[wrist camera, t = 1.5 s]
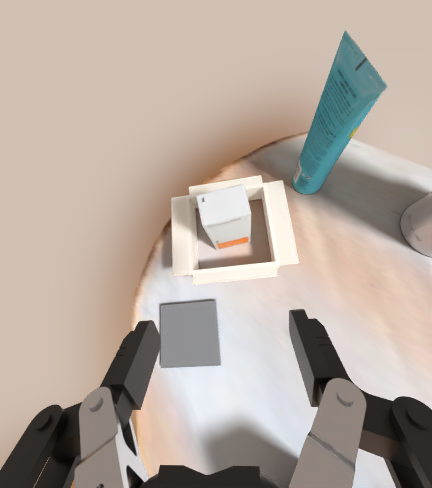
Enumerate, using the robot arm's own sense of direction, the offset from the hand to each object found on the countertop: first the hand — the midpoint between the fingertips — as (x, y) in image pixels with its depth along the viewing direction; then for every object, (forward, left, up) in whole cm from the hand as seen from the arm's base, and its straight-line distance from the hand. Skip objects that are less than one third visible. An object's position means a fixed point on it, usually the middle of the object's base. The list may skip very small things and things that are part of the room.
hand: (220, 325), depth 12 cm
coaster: (+8, +3, -21) cm, 22 cm away
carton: (0, -12, -21) cm, 24 cm away
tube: (-14, -20, -21) cm, 32 cm away
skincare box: (0, -12, -21) cm, 24 cm away
